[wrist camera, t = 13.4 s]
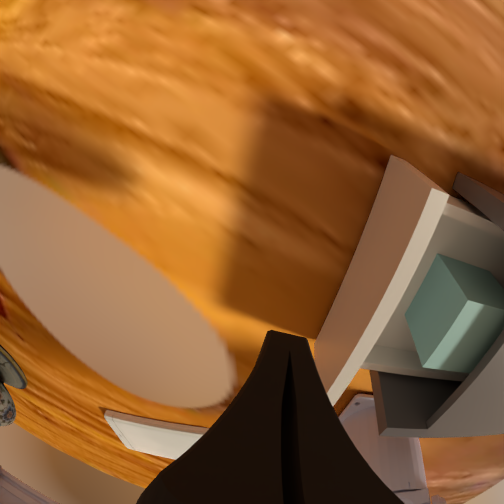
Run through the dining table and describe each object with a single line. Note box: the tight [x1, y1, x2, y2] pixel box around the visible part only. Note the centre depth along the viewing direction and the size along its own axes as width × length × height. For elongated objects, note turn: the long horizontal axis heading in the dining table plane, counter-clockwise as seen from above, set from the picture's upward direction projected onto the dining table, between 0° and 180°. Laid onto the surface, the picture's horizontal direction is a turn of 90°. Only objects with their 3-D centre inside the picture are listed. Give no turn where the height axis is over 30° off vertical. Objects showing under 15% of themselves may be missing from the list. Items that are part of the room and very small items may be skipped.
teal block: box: [404, 253, 504, 373], centre depth 15 cm, size 4×4×4 cm
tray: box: [314, 155, 504, 406], centre depth 15 cm, size 13×17×6 cm
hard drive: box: [104, 410, 209, 459], centre depth 32 cm, size 2×8×12 cm
